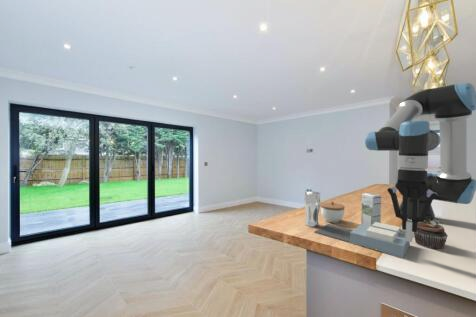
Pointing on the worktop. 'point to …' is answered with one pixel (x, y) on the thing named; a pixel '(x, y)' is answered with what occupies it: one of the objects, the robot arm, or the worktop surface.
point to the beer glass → (312, 208)
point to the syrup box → (371, 209)
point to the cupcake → (430, 234)
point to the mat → (335, 232)
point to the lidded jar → (332, 212)
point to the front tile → (381, 234)
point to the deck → (380, 242)
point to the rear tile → (387, 227)
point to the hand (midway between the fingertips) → (408, 240)
